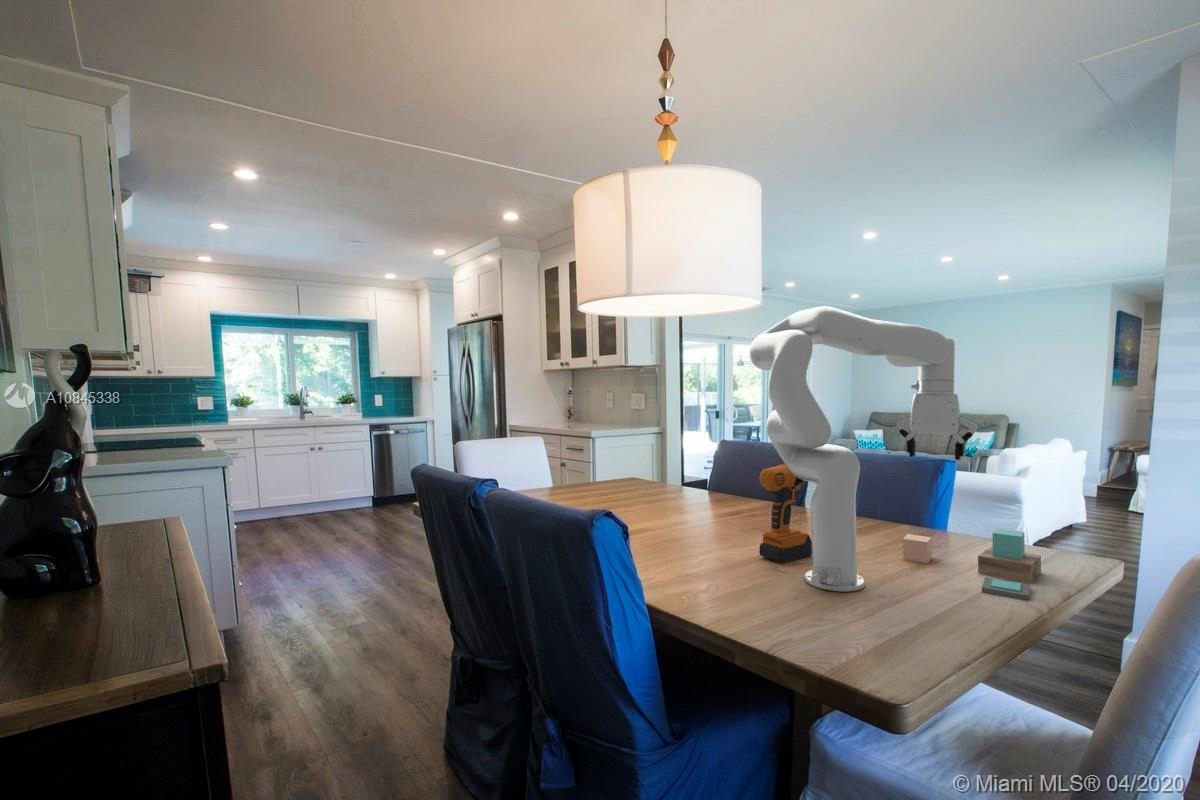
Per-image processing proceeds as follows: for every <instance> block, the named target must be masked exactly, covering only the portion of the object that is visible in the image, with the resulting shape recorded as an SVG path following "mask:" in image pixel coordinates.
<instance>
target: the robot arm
mask: <svg viewBox="0 0 1200 800" xmlns="http://www.w3.org/2000/svg"><path fill="white" fill-rule="evenodd" d="M814 345H823V346H824V345H825V346H828V347H831V348H835V349H838V350H841V351H842V350H843V351H845V352H849V353H852V354H856V355H860V356H869V357H870V356H885V359H886V360H887V362H888V363H890V365H893V366H894V367H898V368H899V367H900V368H911V367H918V369H917V371H918V373H917V381H916V382H915V383H911V387H910V388H911V389H912V390H913V389H914V390H916V391H917V393H914V394H913V395H912V396H913V398H912V403H911V408H910V409H911V410H910V415H909V416H908V417H905V418H903V419H901V420H898V421H896V422H895V424H894V425H895V426H896V429H897V430H898V432H899V434H900V435H902V437H903V438H904V439H905V440H906V442H907V443H906V445H907V446H906V453H907V454H908V455H909V457H910V458H911V457H914V456H916V446H917V445H916V440H915V438H916V437H917V436H918V435H919V434H921V435H936V436H937V435H938V436H939V435H941V436H942V435H944V436H952V437H953V438H954V439H955V441H956V443H955V445H954V447H955V448H954V460H956V461H960V460H961V458H962V457H963V458H964V450H965V446H964V443H966V442H967V441H968V440H969V439H971V438H972V437H973V436H974V434H975V433H976V431H977V430H978V428H979V425H978V424H976V423H973V422H971V421H969V420H967V419H965V418H963V417H961V412H960V401H959V397H958V393H955V359H956V358H955V351H956V350H955V349H956V347H955V341H954V339H953V338H952V337H947V336H945V335H943V334H942V333H941V332H939V331H937V330H933V329H931V328H927V327H924V326H920V325H915V324H911V323H910V324H909V323H902V322H894V321H888V320H881V319H880V320H879V319H873V318H869V317H865V316H862V315H860V314H856V313H852V312H849V311H846V310H843V309H839V308H836V307H833V306H827V305H822V306H816V307H812V308H807V309H804V310H799V311H797V312H794V313H793V314H791V315H788V316H787V317H786V318H784V319H782V320H781V321H779V322H778V323H776V324H775V325H773V326H772V327H770V328H768V329H767V330H765V331H763V332H762V333H760V334H759V335H757V336H756V337H755V338H754V339H753V341H751V343H750V346H749V350H748V356H749V359H750V362H751V363H752V365H754V366H755V368H757V369H760V370H765V371H770V372H769V373H770V374H769V378H768V384H767V393H768V397H769V400H770V402H771V404H772V406H773V408H774V410H772V411H771V412H770V414H769V415H768V417H767V421H766V432H767V436H768V438H769V441H770V442H771V444H772V445H773V447H774V448H775V451H777V453H778V455H779V457H780V458H781V460H782V461H783V463H784V464H786V466H787V467H788V469H789V470H790V472H791V473H792V474H793V475H794V476H796V477H797V478H799V479H801V480H804V481H808V482H807V483H813V484H816V487H815V490H814V492H813V494H812V496H811V500H810V531H811V533H810V539H811V544H812V554H811V569H810V570H808V571H807V572H805V574H804V580H805V582H807V584H809V585H811V586H813V587H814V588H818V589H822V590H826V591H832V592H844V593H845V592H846V593H847V592H855V591H859V590H862V589H863V588H864V587H865V579H864V578H863V577H862V576H861V575H859V574H858V563H857V560H858V559H857V558H858V557H857V556H858V555H857V515H856V514H857V504H856V502H857V490H858V483H859V478H860V473H861V464H860V461H859V458H858V456H857V455H856V454H855V453H854V452H853V451H852V450H851V449H849V448H848V447H846V446H845V447H844V446H842V445H838V444H831V443H829V442H830V440H831V437H832V427H831V424H830V421H829V420H828V418H827V416H826V415H825V413H824V412H823V410H822V408H821V407H820V405H819V403H818V401H817V400H816V398H815V396H814V395H813V393H812V392H811V389H810V388H809V385H808V382H807V372H808V368H809V365H810V361H811V358H812V356H813V348H814V347H813V346H814ZM906 424H909V429H910V431H909V432H908V430H906V429H905V425H906ZM961 425H963V426H965V427H967V428H968V430H967V432H966V433H965V434H964V435H962V433H960V431H961Z"/></svg>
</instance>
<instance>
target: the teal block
mask: <svg viewBox="0 0 1200 800" xmlns="http://www.w3.org/2000/svg"><path fill="white" fill-rule="evenodd" d="M992 547H993V556H996V557H1002V558H1009V559H1015V560H1023V557H1024V555H1025V553H1026V552H1025V551H1026V549H1025V547H1026V546H1025V531H1021V530H1012V529H1007V528H1006V529H1004V528H998V527H996V528H995V529H994V530H993V532H992Z"/></svg>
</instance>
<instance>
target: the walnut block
mask: <svg viewBox="0 0 1200 800" xmlns="http://www.w3.org/2000/svg"><path fill="white" fill-rule="evenodd" d="M977 563H978V564H977V572H978V573H977V574H981V575H986V576H990V577H991V576H992V577H996V578H1001V579H1004V580H1006V579H1007V580H1009V581H1014V582H1019V583H1025V584H1030V585H1031V584H1032V583H1033V582H1035V580H1036V579H1037V578H1038V577H1039V576H1040V575H1041V574H1042V555H1039V554H1033V553H1027V552H1025V555H1024V557H1023V560H1015V559H1009V558H1002V557H996V556H993V546H989V547H988V548H986V549H985V550H984V551H983V552H981V553H980V554H979V555H978V556H977ZM1040 573H1041V574H1040ZM1039 574H1040V575H1039Z"/></svg>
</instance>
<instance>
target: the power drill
mask: <svg viewBox="0 0 1200 800" xmlns="http://www.w3.org/2000/svg"><path fill="white" fill-rule="evenodd" d="M758 479H759V483H760V485H761V486H762V487H763V488H765V490H766V492H767V493H768V494H773V495H774V497H773V498H774V499H773V504H772V508H771V516H770V517H771V522H770V523H771V529H770V530H766V531H764V532H761V533H762V534H761V535H762V537H763V538H762V542H761V543H759V544H760V545H759V550H758V551H759V556H761V557H764V558H765V559H769V560H771V561H775V562H777V563H780V564H785V563H789V562H790V563H791V562H794V561H798V560H801V559H802V560H803V559H805V558H809V557H812V544H811V535H809V533H806V532H803V531H801V530H799V529H795V528H793V527H790V523H791V515H792V504H793V503H796V501H797V500H798V498H797V494H798V492H799V491H800V490H801V485H802V484H806V483H809V482H808V481H804V480H801V479H799V478H797V477H796V476H794V475H793V474H792V473H791V472H790V470H789V469H788V467H787V466H786V464H785V463H784V464H778V465H776V466H772V467H767V468H764V469H762V471H760V473H759V476H758Z"/></svg>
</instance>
